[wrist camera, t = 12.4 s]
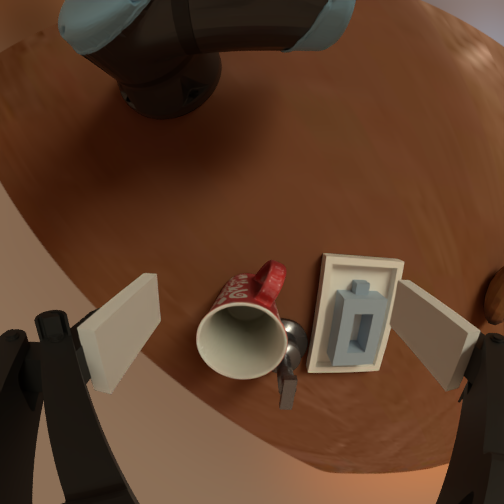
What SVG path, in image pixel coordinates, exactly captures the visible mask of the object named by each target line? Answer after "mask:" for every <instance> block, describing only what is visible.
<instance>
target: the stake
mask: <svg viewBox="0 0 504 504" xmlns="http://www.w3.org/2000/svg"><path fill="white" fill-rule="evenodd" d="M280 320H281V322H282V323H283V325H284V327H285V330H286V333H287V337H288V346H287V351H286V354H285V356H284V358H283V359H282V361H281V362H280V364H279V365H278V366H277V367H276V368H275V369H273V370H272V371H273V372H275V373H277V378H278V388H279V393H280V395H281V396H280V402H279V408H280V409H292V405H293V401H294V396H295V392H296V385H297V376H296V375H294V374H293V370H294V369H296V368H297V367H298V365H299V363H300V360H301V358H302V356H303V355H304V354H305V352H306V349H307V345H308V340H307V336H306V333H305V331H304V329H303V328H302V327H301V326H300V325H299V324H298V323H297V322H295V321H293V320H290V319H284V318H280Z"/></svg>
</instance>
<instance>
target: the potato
mask: <svg viewBox="0 0 504 504" xmlns="http://www.w3.org/2000/svg"><path fill="white" fill-rule="evenodd" d="M484 313H485V318H486V319H487V321H488V323H490V324H493V325H497V324H499V323H502V322H503V321H504V266H503V267H502V268H501V269H500V270H499V271H498V272H497V274H496V275H495V276H494V278H493V279H492V280H491V282H490V284H489V287H488V290H487V292H486V295H485V302H484Z"/></svg>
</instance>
